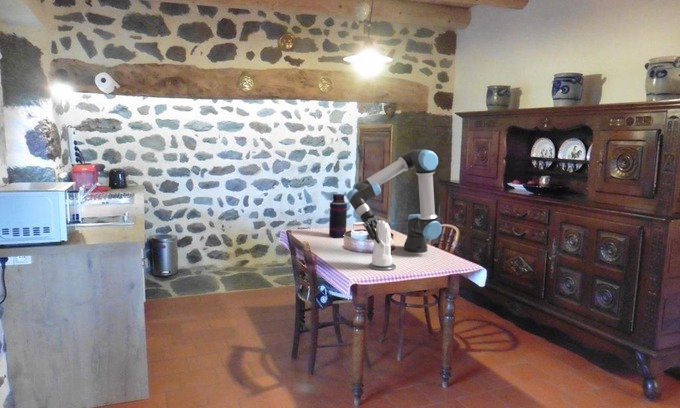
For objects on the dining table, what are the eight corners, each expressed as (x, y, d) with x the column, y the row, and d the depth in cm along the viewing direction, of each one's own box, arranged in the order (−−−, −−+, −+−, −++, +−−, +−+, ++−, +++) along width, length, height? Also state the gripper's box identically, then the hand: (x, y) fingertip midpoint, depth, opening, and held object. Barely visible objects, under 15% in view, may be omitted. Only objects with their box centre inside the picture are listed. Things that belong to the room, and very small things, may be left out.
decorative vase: (380, 260, 277) (382, 217, 273) (395, 264, 269) (397, 220, 266) (367, 263, 269) (370, 218, 265) (382, 267, 262) (385, 221, 258)
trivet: (378, 261, 280) (378, 260, 280) (400, 266, 271) (400, 265, 271) (363, 266, 268) (363, 265, 268) (386, 272, 259) (386, 270, 259)
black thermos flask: (348, 237, 339) (350, 195, 335) (332, 238, 335) (334, 195, 330) (340, 233, 352) (342, 192, 348) (325, 234, 347) (326, 193, 343)
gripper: (372, 215, 283) (394, 246, 276) (349, 219, 266) (372, 253, 259) (380, 207, 279) (402, 238, 272) (358, 211, 262) (381, 245, 255)
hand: (388, 245), depth 266 cm, fingers closed on decorative vase, 9 cm apart
